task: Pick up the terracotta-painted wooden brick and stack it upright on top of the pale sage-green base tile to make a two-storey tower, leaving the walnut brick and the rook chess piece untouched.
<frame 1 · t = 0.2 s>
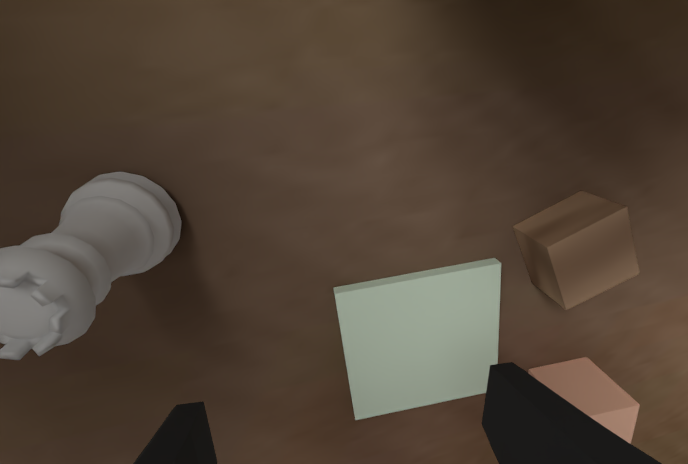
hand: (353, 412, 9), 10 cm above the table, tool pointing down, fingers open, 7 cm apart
base tile: (416, 333, 22), on the table
walnut brick: (553, 237, 20), on the table
terracotta brick: (554, 385, 24), on the table
rook chess piece: (134, 216, 17), on the table
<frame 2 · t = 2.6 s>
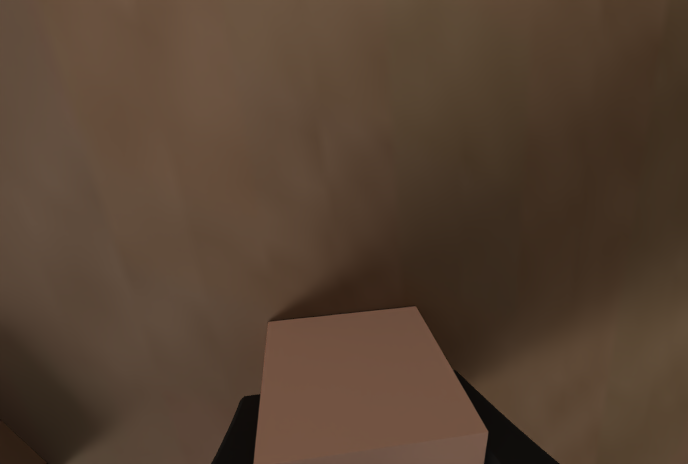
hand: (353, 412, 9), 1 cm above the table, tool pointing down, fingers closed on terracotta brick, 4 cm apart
terracotta brick: (345, 372, 11), on the table, touching gripper
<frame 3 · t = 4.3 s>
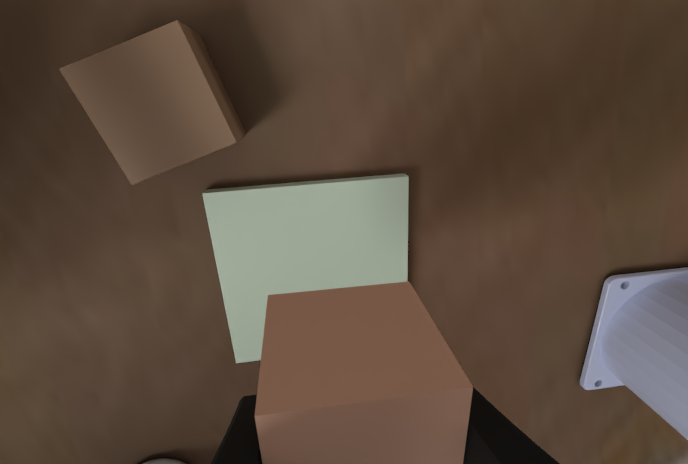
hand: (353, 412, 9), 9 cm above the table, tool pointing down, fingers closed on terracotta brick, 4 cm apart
base tile: (315, 265, 19), on the table
walnut brick: (179, 104, 15), on the table
terracotta brick: (342, 345, 11), point 7 cm above the table, touching gripper
when the fingers open (4 cm above the table, at t = 6.2 s): terracotta brick moves 1 cm, resting on base tile.
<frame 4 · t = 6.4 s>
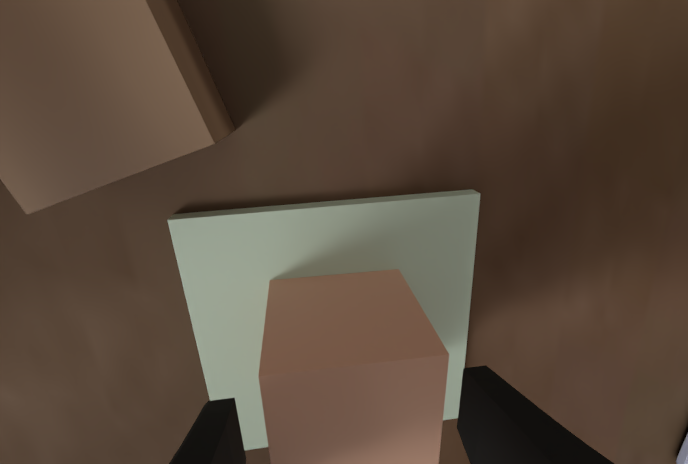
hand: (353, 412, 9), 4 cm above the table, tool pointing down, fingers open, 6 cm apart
base tile: (335, 315, 13), on the table, touching terracotta brick
walnut brick: (128, 80, 9), on the table
terracotta brick: (337, 328, 12), resting on base tile
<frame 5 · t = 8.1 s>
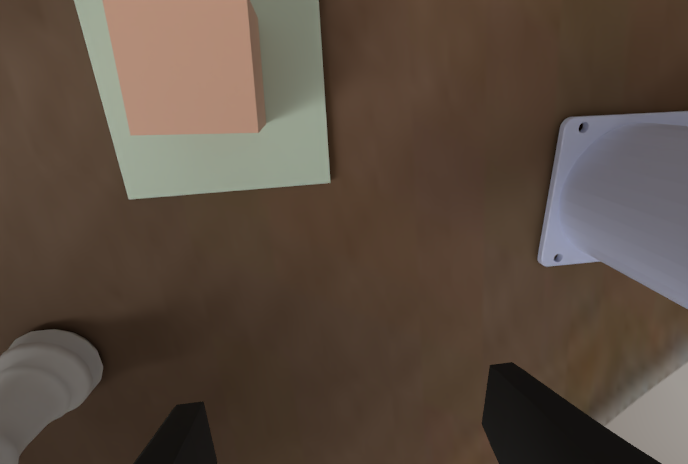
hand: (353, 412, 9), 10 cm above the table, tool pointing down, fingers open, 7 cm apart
base tile: (220, 85, 16), on the table, touching terracotta brick
terracotta brick: (212, 73, 15), resting on base tile
rook chess piece: (63, 357, 19), on the table
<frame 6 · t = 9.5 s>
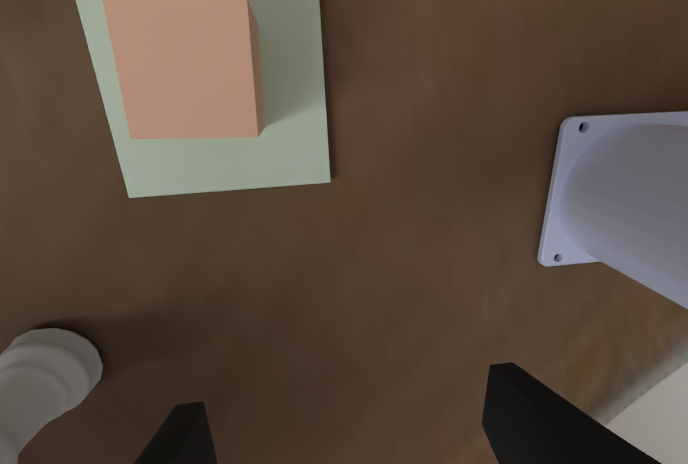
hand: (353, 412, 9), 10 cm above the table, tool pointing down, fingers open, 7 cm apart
base tile: (220, 84, 16), on the table, touching terracotta brick
terracotta brick: (211, 77, 15), resting on base tile
rook chess piece: (62, 355, 19), on the table
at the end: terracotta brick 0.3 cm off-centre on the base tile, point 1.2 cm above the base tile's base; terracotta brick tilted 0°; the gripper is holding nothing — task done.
